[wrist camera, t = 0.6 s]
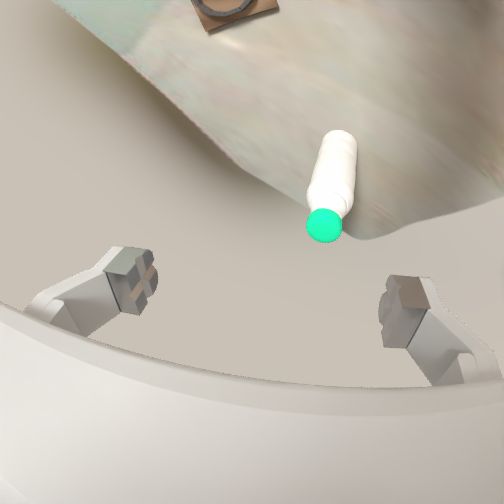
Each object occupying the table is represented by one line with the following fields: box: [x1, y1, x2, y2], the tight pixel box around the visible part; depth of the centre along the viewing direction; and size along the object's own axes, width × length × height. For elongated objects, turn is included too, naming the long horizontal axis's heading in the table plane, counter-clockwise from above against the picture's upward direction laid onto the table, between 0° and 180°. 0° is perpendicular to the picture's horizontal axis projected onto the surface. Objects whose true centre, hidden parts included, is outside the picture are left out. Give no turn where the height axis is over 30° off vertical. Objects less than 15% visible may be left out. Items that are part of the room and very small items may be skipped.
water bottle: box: [306, 130, 358, 243], centre depth 44 cm, size 7×7×25 cm
